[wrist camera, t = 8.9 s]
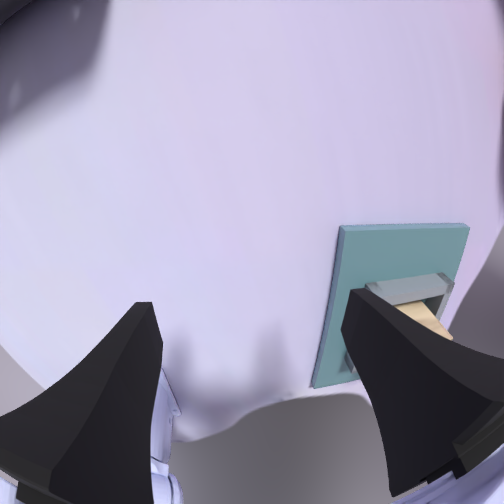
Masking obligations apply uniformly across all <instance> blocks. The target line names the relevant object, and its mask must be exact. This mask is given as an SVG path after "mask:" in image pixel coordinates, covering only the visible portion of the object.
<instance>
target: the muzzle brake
mask: <svg viewBox="0 0 504 504" xmlns="http://www.w3.org/2000/svg"><path fill="white" fill-rule="evenodd" d="M31 1H32V0H0V26H1V25H2V24H3V23H4V22H5V21H6V20H7V19H8V18H10V17H11V16H12V15H13V14H14V13H16V12H17V11H18V10H20V9H21V8H23V7H24V6H26V5H27V4H28V3H30V2H31Z"/></svg>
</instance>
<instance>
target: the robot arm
mask: <svg viewBox="0 0 504 504" xmlns="http://www.w3.org/2000/svg"><path fill="white" fill-rule="evenodd" d="M340 330H341V333H342V336H343V340H344V343H345V346H346V349H347V351H348V354H349V356H350V358H351V360H352V362H353V364H354V366H355V368H356V370H357V372H358V374H359V377H360V379H361V381H362V383H363V385H364V387H365V389H366V391H367V393H368V395H369V398H370V400H371V403H372V406H373V409H374V412H375V415H376V418H377V421H378V425H379V428H380V433H381V437H382V441H383V445H384V451H385V455H386V461H387V468H388V477H389V490H390V492H391V495H392V497H395V496H398V495H400V494H402V493H404V492H406V491H408V490H410V489H412V488H414V487H416V486H418V485H420V484H422V483H424V482H426V481H427V483H428V485H427V486H425V487H423V488H421V489H419V490H417V491H415V492H414V493H412V494H410V495H407V496H405V497H403V498H401V499H399V500H397V501H395V502H392V503H390V504H504V359H501V358H497V357H494V356H490V355H487V354H483V353H480V352H477V351H475V350H472V349H470V348H467V347H465V346H462V345H460V344H458V343H455V342H453V341H451V340H449V339H447V338H445V337H443V336H441V335H439V334H437V333H436V332H434V331H432V330H430V329H429V328H427V327H425V326H424V325H422V324H420V323H419V322H417V321H415V320H414V319H412V318H411V317H409V316H408V315H406V314H405V313H403V312H402V311H400V310H399V309H397V308H396V307H394V306H393V305H391V304H390V303H388V302H387V301H385V300H384V299H382V298H381V297H379V296H377V295H376V294H374V293H373V292H371V291H369V290H368V289H366V288H357V289H350V293H349V298H348V302H347V306H346V310H345V314H344V318H343V322H342V326H341V329H340ZM162 351H163V341H162V338H161V334H160V331H159V327H158V324H157V320H156V316H155V312H154V309H153V305H152V302H136V303H135V304H134V305H133V306H132V307H131V308H130V309H129V310H128V311H127V312H126V314H125V315H124V316H123V317H122V318H121V319H120V320H119V322H118V323H117V324H116V325H115V326H114V327H113V328H112V329H111V331H110V332H109V333H108V334H107V335H106V336H105V337H104V338H103V339H102V340H101V341H100V343H99V344H98V345H97V346H96V347H95V348H94V349H93V350H92V351H91V352H90V353H89V354H88V355H87V356H86V357H85V358H84V359H83V360H82V361H81V362H80V363H79V364H78V365H77V366H75V367H74V368H73V369H72V370H71V371H70V372H69V373H67V374H66V375H65V376H64V377H63V378H61V379H60V380H59V381H58V382H56V383H55V384H53V385H52V386H51V387H49V388H48V389H47V390H45V391H44V392H43V393H41V394H40V395H38V396H37V397H35V398H34V399H33V400H31V401H29V402H27V403H26V404H24V405H22V406H21V407H19V408H17V409H15V410H13V411H11V412H9V413H7V414H5V415H3V416H1V417H0V470H2V471H3V472H5V473H6V474H8V475H9V476H11V477H13V478H14V479H16V480H18V481H19V482H18V487H17V486H15V485H13V484H12V483H10V482H8V481H7V480H5V479H3V478H2V477H0V504H183V492H182V488H181V485H180V483H179V482H178V480H177V479H176V477H175V476H174V475H173V474H171V473H169V465H167V463H168V461H169V459H170V453H171V435H172V420H173V416H180V415H181V411H180V409H179V407H178V405H177V403H176V400H175V398H174V396H173V393H172V391H171V389H170V386H169V384H168V381H167V379H166V377H165V374H164V371H163V369H162V368H161V365H162Z"/></svg>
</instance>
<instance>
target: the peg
mask: <svg viewBox="0 0 504 504" xmlns="http://www.w3.org/2000/svg"><path fill="white" fill-rule="evenodd" d="M393 306H394V307H396V308H397V309H399V310H400V311H402V312H403V313H405V314H406V315H408V316H409V317H411V318H412V319H414V320H415V321H417V322H419V323H420V324H422V325H424V326H425V327H427V328H429V329H430V330H432V331H434V332H436V333H437V334H439V335H441V336H443V337H445V338H447V339H449V340H451V341H452V339H453V338H452V336H451V335H450V334H449V333H448V331H447V330H446V329H445V328H444V327H443V325H442V324H441V323H440V322H439V321H438V319H437V318H436V317H435V316H434V315H433V314H432V312H431V311H430V310H429V309H428V308H427V307H426V306H425V304H424V303H423V302H422V301H421V300H416V301H412V302H407V303H402V304H396V305H393Z"/></svg>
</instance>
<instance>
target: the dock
mask: <svg viewBox="0 0 504 504" xmlns="http://www.w3.org/2000/svg"><path fill="white" fill-rule="evenodd" d="M469 230H470V227H469V226H467V225H465V224H464V223H433V224H381V225H347V226H340V230H339V238H338V246H337V253H336V260H335V267H334V274H333V280H332V286H331V292H330V298H329V304H328V309H327V314H326V320H325V325H324V330H323V334H322V339H321V344H320V348H319V353H318V357H317V362H316V366H315V370H314V374H313V378H312V385H313V388H314V389H316V388H322V387H327V386H332V385H337V384H341V383H346V382H350V381H354V380H358V379H360V377H359V374H358V372H357V370H356V368H355V366H354V364H353V362H352V360H351V358H350V356H349V354H348V351H347V349H346V346H345V343H344V340H343V336H342V333H341V330H340V329H341V326H342V322H343V318H344V314H345V310H346V306H347V302H348V298H349V293H350V289H357V288H366V289H368V290H369V291H371V292H373V293H374V294H376V295H377V296H379V297H381V298H382V299H384V300H385V301H387V302H388V303H390V304H391V305H396V304H402V303H407V302H412V301H416V300H421V301H422V302H423V303H424V304H425V306H426V307H427V308H428V309H429V310H430V311H431V312H432V314H433V315H434V316H435V317H436V318H437V319H438V321H439V320H440V318H441V316H442V314H443V311H444V309H445V307H446V304H447V302H448V299H449V297H450V294H451V292H452V289H453V287H454V284H455V283H454V279H455V276H456V273H457V270H458V267H459V264H460V261H461V258H462V255H463V252H464V248H465V245H466V241H467V237H468V234H469Z"/></svg>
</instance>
